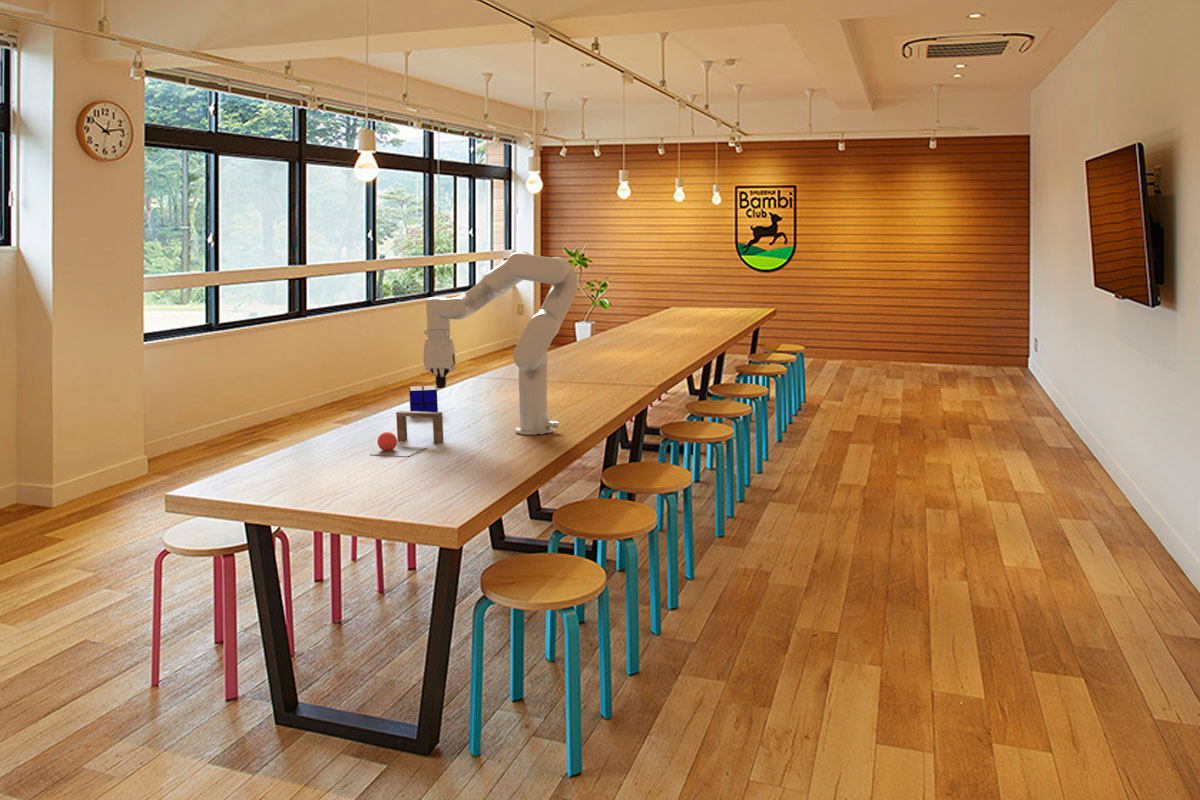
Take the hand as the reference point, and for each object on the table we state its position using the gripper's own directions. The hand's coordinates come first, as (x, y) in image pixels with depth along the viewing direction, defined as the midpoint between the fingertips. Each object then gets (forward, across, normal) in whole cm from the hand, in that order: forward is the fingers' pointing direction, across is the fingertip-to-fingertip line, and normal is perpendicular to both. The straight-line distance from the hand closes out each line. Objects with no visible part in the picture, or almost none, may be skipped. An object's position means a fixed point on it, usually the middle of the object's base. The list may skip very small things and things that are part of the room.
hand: (441, 387), depth 343 cm
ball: (+12, -4, -32) cm, 35 cm away
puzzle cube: (+15, -21, +28) cm, 38 cm away
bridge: (+15, 0, -17) cm, 23 cm away
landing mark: (+15, 0, -32) cm, 35 cm away
